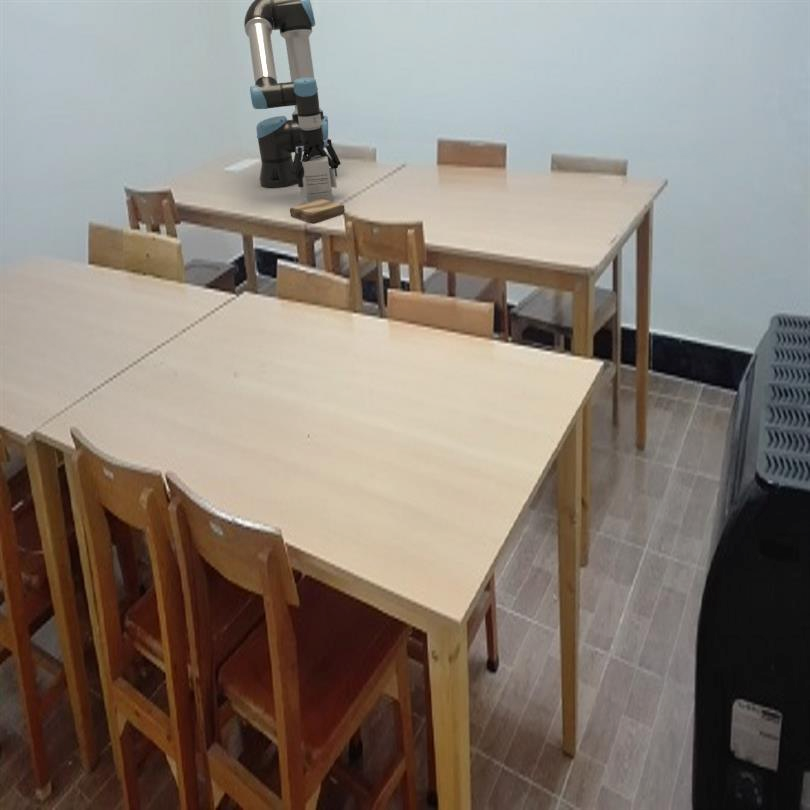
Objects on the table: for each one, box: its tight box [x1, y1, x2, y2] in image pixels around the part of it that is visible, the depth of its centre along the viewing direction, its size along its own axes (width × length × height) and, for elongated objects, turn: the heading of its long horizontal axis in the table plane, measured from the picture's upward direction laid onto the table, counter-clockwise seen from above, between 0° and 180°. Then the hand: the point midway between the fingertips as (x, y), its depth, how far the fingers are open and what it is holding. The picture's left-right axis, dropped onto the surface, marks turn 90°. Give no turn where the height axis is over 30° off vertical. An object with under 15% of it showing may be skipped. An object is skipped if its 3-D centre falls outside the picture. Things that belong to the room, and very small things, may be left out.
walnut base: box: [289, 198, 346, 224], centre depth 272 cm, size 13×13×3 cm
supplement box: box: [301, 155, 334, 202], centre depth 282 cm, size 9×9×15 cm
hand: (319, 191), depth 284 cm, fingers closed on supplement box, 12 cm apart
